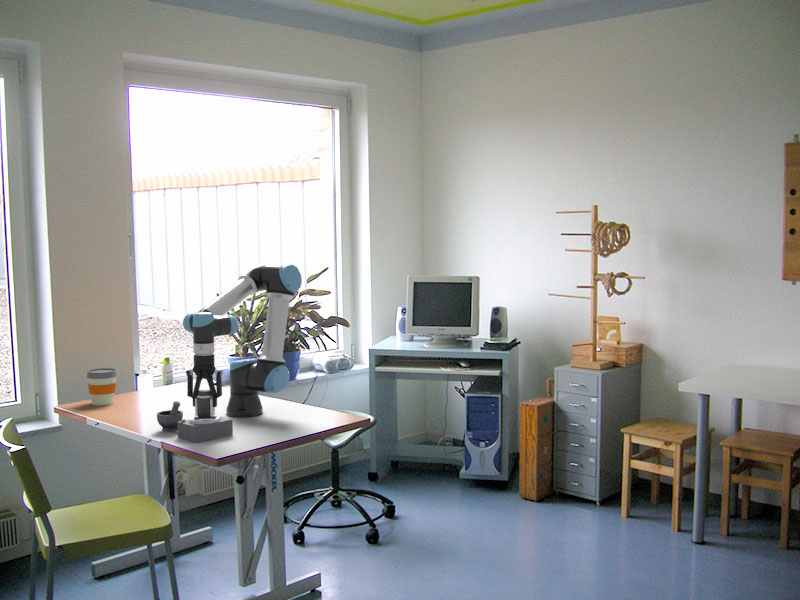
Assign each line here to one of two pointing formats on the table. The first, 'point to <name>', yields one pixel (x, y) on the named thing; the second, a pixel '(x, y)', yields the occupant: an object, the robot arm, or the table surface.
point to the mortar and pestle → (170, 418)
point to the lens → (204, 404)
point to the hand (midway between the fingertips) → (205, 415)
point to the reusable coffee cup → (102, 385)
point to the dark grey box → (204, 428)
